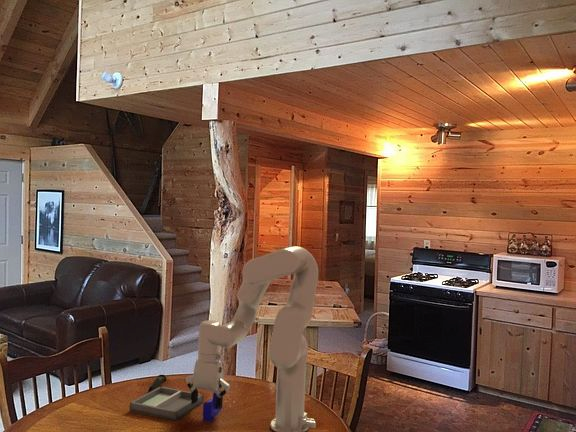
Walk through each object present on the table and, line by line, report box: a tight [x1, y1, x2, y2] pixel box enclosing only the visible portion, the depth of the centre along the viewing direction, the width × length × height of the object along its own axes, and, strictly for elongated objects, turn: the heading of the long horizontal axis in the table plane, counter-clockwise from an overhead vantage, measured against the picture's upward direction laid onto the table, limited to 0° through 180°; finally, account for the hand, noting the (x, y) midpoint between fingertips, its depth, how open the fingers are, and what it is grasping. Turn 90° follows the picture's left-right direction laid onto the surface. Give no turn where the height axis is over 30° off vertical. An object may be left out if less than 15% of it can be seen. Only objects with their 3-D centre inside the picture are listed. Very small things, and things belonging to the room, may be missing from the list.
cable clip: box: [202, 392, 223, 423], centre depth 176 cm, size 12×4×6 cm, turn 170°
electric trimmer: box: [148, 374, 167, 392], centre depth 202 cm, size 4×16×3 cm, turn 177°
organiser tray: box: [129, 385, 205, 422], centre depth 181 cm, size 19×18×3 cm
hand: (206, 405), depth 177 cm, fingers open, 9 cm apart
